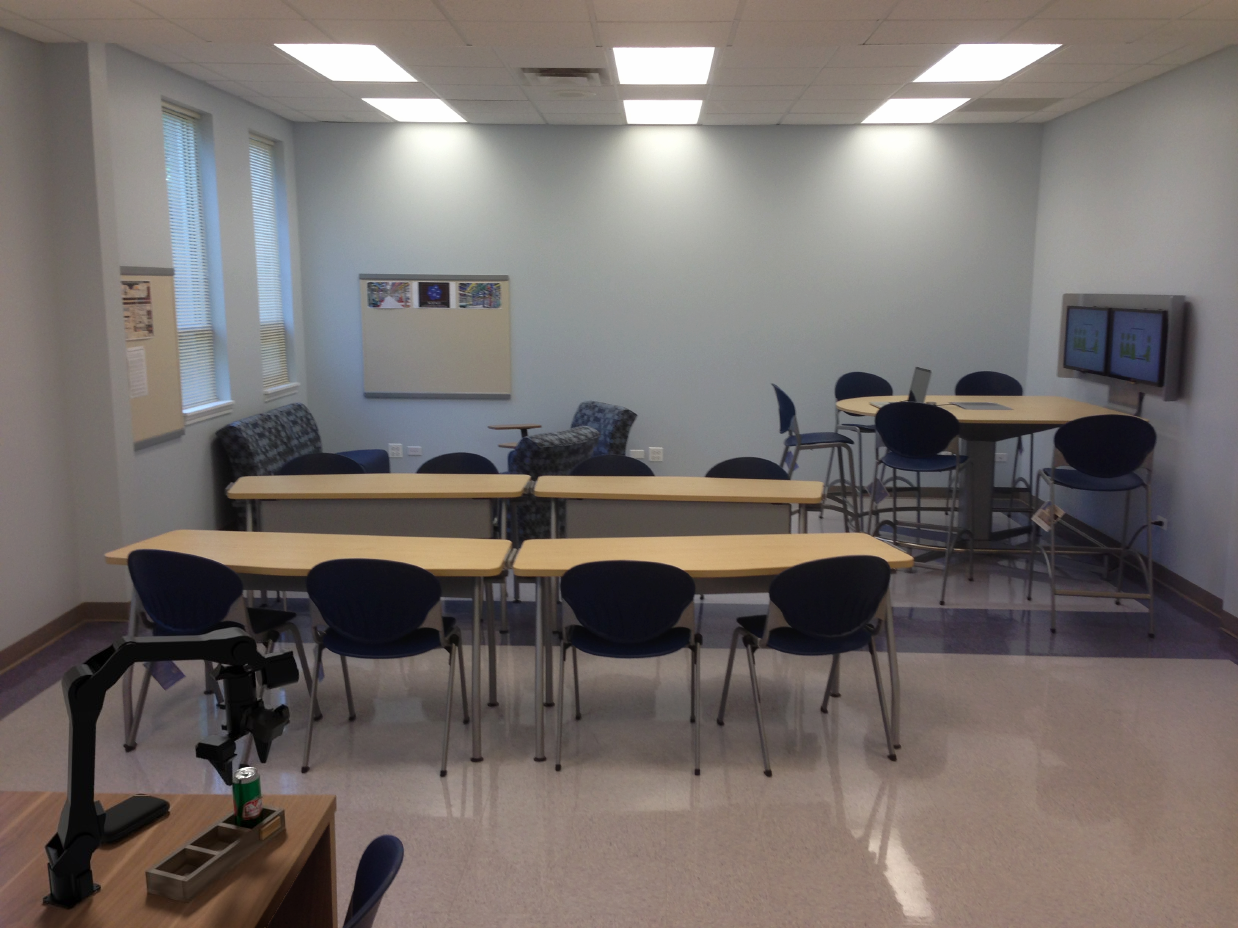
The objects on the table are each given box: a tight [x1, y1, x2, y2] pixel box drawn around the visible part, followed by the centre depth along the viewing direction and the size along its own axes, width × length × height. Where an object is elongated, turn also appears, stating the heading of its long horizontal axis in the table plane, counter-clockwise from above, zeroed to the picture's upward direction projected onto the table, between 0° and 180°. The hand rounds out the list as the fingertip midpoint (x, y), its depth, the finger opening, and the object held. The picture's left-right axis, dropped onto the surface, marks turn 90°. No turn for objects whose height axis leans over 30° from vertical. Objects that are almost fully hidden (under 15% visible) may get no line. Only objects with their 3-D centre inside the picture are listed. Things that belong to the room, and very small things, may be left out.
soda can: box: [231, 767, 263, 829], centre depth 183 cm, size 5×5×12 cm
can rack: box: [144, 803, 287, 904], centre depth 176 cm, size 10×25×4 cm, turn 160°
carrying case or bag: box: [101, 793, 171, 845], centre depth 189 cm, size 11×3×15 cm
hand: (246, 773), depth 182 cm, fingers open, 9 cm apart
